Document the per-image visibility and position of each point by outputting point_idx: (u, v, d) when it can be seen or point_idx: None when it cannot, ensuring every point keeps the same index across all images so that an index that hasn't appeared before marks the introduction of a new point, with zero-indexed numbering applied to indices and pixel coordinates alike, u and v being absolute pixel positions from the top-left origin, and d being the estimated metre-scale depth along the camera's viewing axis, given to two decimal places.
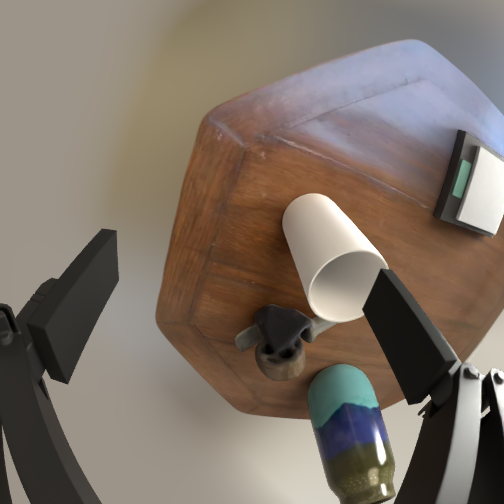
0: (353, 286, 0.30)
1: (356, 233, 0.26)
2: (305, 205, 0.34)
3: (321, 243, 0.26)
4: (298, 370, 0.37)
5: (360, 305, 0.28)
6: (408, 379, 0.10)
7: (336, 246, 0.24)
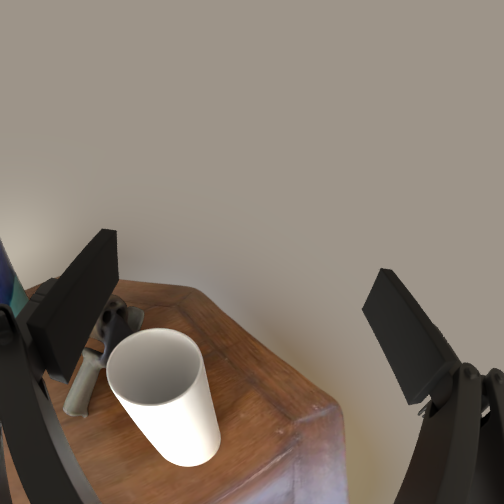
0: (125, 392, 0.22)
1: (188, 418, 0.20)
2: (217, 430, 0.27)
3: (207, 381, 0.22)
4: None
5: (115, 369, 0.21)
6: (408, 379, 0.10)
7: (203, 380, 0.21)
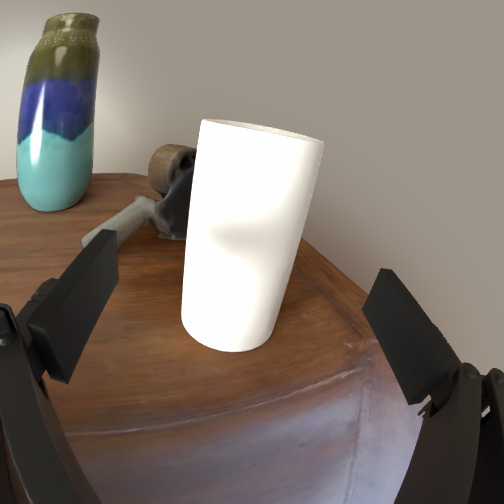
0: None
1: (287, 198, 0.16)
2: (281, 300, 0.22)
3: None
4: (164, 149, 0.32)
5: None
6: (408, 379, 0.10)
7: (320, 161, 0.17)
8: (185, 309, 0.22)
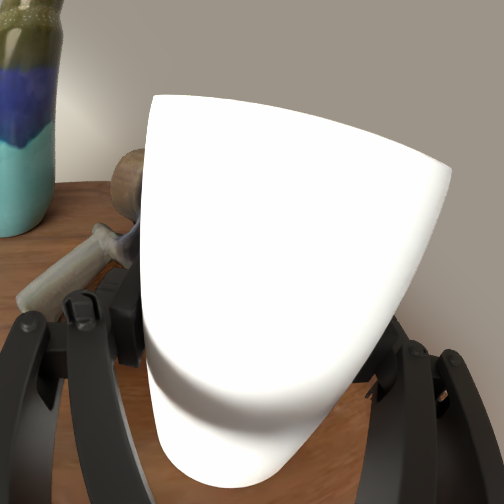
0: None
1: (377, 317, 0.06)
2: None
3: None
4: (132, 156, 0.21)
5: None
6: None
7: None
8: (159, 434, 0.11)
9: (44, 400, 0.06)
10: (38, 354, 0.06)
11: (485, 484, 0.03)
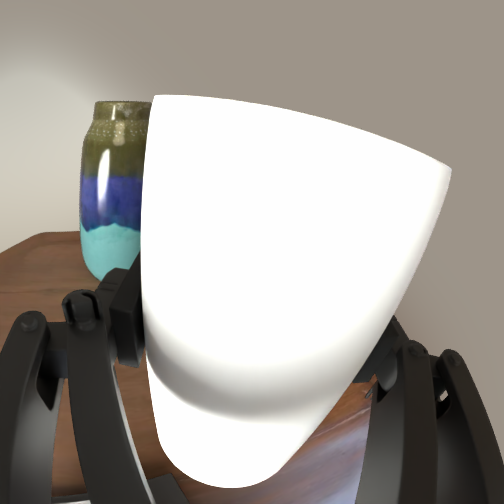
0: None
1: (377, 316, 0.06)
2: None
3: None
4: None
5: None
6: None
7: None
8: (159, 433, 0.11)
9: (44, 400, 0.06)
10: (38, 354, 0.06)
11: (485, 484, 0.03)
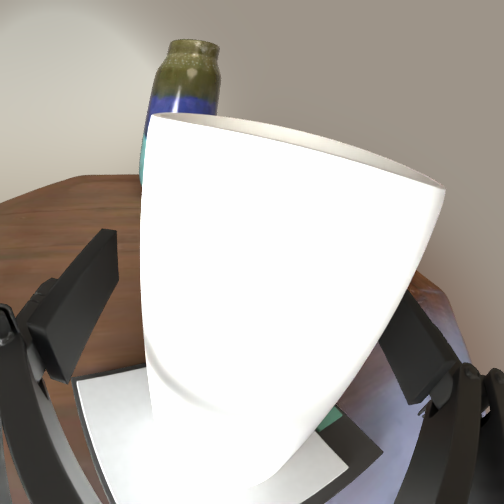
0: None
1: (368, 333, 0.06)
2: None
3: None
4: None
5: None
6: (408, 379, 0.10)
7: None
8: (159, 437, 0.12)
9: None
10: None
11: None
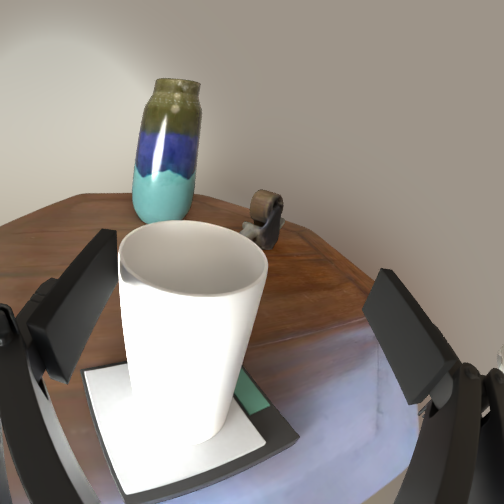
0: None
1: (212, 350, 0.14)
2: (229, 405, 0.20)
3: None
4: (261, 194, 0.55)
5: (134, 251, 0.16)
6: (408, 379, 0.10)
7: (259, 297, 0.15)
8: (136, 405, 0.19)
9: None
10: None
11: None
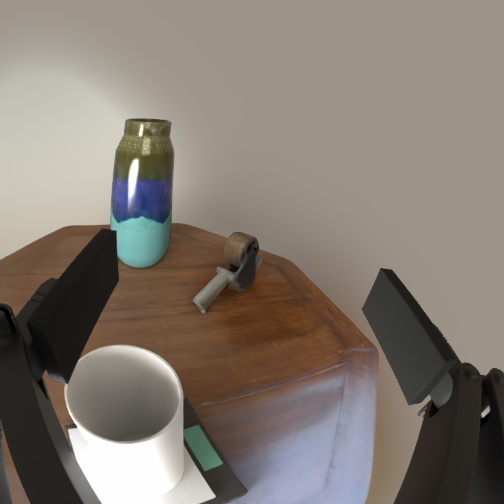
0: (87, 401, 0.17)
1: (143, 461, 0.14)
2: (179, 471, 0.20)
3: (180, 429, 0.16)
4: (235, 238, 0.56)
5: (80, 376, 0.16)
6: (408, 379, 0.10)
7: (174, 430, 0.15)
8: None
9: None
10: None
11: None
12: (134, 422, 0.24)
